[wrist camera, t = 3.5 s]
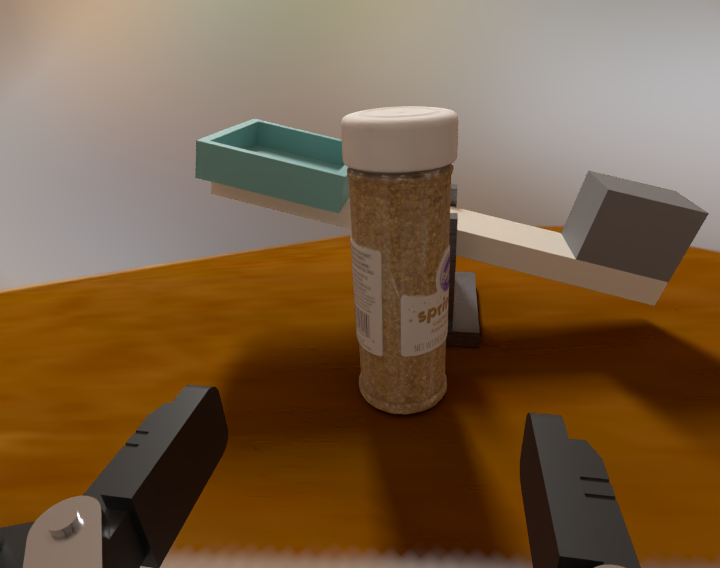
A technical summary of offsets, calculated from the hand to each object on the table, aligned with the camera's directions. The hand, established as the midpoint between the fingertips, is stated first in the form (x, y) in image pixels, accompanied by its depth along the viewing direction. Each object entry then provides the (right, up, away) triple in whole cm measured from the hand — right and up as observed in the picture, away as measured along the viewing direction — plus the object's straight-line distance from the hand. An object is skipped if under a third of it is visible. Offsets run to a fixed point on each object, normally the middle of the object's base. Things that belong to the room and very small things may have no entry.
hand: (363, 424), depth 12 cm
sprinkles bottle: (+2, -2, +12) cm, 12 cm away
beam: (+4, +6, +17) cm, 18 cm away
